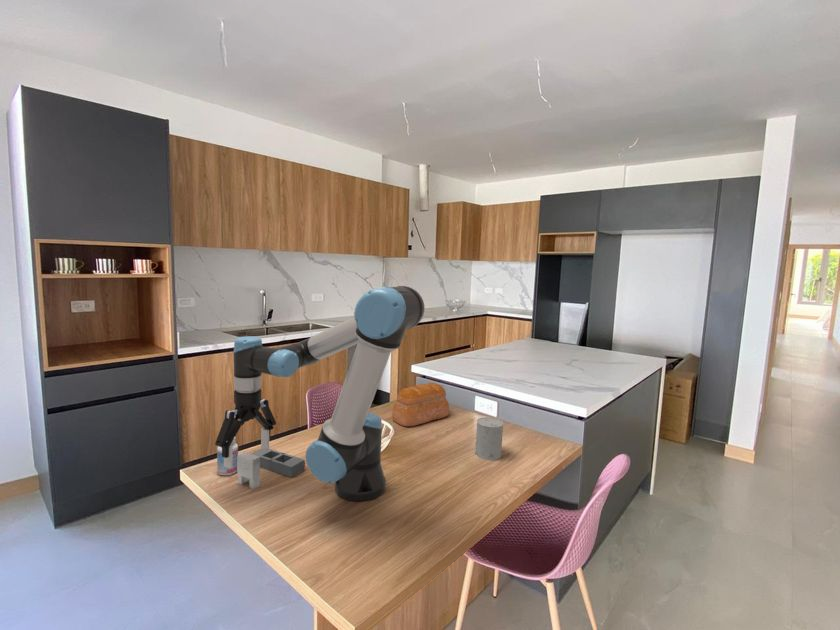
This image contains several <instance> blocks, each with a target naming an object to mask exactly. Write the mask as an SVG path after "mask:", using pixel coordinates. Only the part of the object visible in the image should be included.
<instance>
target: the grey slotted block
mask: <svg viewBox="0 0 840 630" xmlns="http://www.w3.org/2000/svg"><path fill="white" fill-rule="evenodd" d="M250 454H253V455H256V456H259V457H260V468H262V469H264V470H267V471H271V472H274V473H276V474H279V475H283V476H285V477H289V478H293V477H295V476H298V475H299V474H300V473H301V472H303V471H305V469H306V467H305V466H306V465H305V462H306V458H301V457H298V456H294V455H291V454H288V453H284V452H281V451H278V450H276V449H275V450H274V449H272V448H269V450H268V451H267V450H264V449H261V448H260V449H258V450H255V451H254V452H250Z"/></svg>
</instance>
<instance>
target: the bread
mask: <svg viewBox="0 0 840 630" xmlns="http://www.w3.org/2000/svg"><path fill="white" fill-rule="evenodd" d="M446 396H447V393H446V390H445V388H444V387H443V386H442V385H440V384H438V383H435V382H428V383H421V384H416V385H412V386H410V387H404V388H402V389H401V390H400V391H399V392H398V393H397V396H396V402H395V403H394V405H393V408H392V412H391V413H392V414H391V417H392V420H394V421H393V422H394V423H396V424H399V425H401V426H403V427H416V426H418V425H422V424H425V423H426V422H427V423H429V422H431V421H437V420H440V419H443V418H446V417H448V415H449V414H450V406H449V401H448V400H447V398H446ZM436 419H437V420H436Z"/></svg>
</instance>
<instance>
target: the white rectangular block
mask: <svg viewBox="0 0 840 630" xmlns="http://www.w3.org/2000/svg"><path fill="white" fill-rule="evenodd" d="M236 473H237V484H238V485H244V484H246V483H247V482H249V489H252V490H255V489H257V488H258V487H260V486H261V484H260V483H261V467H260V457H259V456H256V455H253V454H251V452H250V453H249V452H246V451H244V452H241V453H238V455H237V472H236Z"/></svg>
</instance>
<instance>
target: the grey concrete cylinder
mask: <svg viewBox="0 0 840 630" xmlns="http://www.w3.org/2000/svg"><path fill="white" fill-rule="evenodd" d="M503 429H504V421H503V420H501V419H498V418H494V417H490V416H489V417H485V416H484V417H479V418H478V419H477V420H476V433H475V435H476V437H475V451H474V453H475V454H476V455H477V456H478V457H477V456H476V455H475V456H476V457H477V458H479V457H480V458H479V459H481V458H482V459H481V460H484V459H486V460H485V461H497V459H498V460H500V459H501V458H502V450H503V449H502V448H503V434H504V433H503V432H504V430H503Z"/></svg>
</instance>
